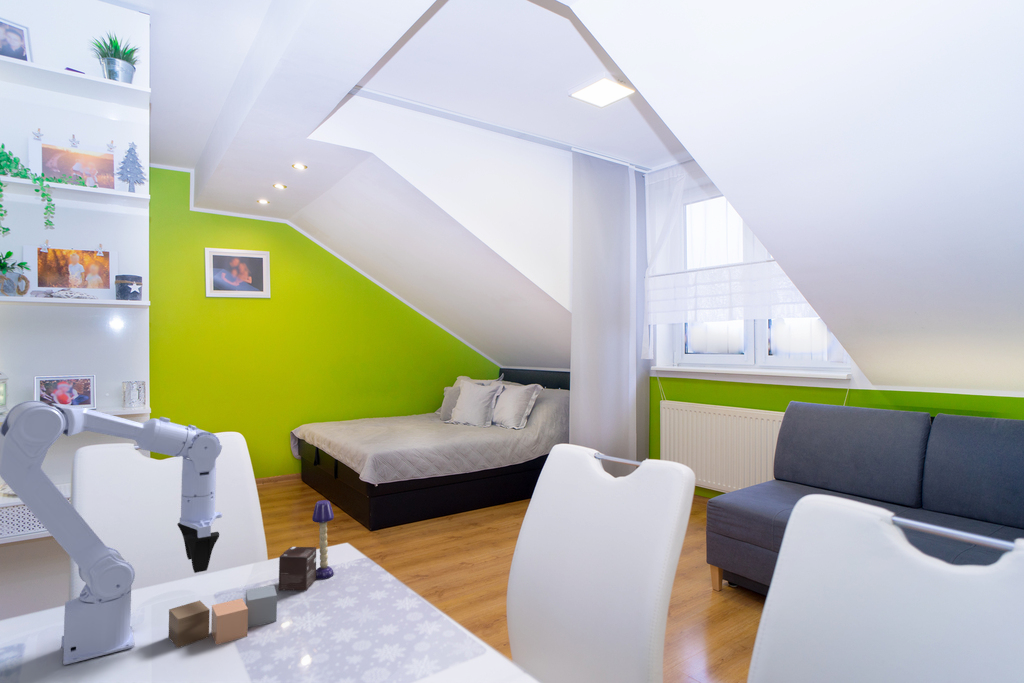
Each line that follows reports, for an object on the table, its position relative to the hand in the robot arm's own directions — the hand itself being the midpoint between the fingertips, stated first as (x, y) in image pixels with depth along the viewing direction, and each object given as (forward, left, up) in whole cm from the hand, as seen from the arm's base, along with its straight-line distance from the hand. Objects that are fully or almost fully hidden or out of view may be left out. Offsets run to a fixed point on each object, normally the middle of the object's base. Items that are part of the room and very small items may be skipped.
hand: (197, 564), depth 107 cm
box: (+20, +3, -10) cm, 23 cm away
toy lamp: (+26, +5, -10) cm, 28 cm away
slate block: (+10, -8, -10) cm, 16 cm away
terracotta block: (+4, -11, -10) cm, 15 cm away
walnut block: (-2, -8, -10) cm, 13 cm away
